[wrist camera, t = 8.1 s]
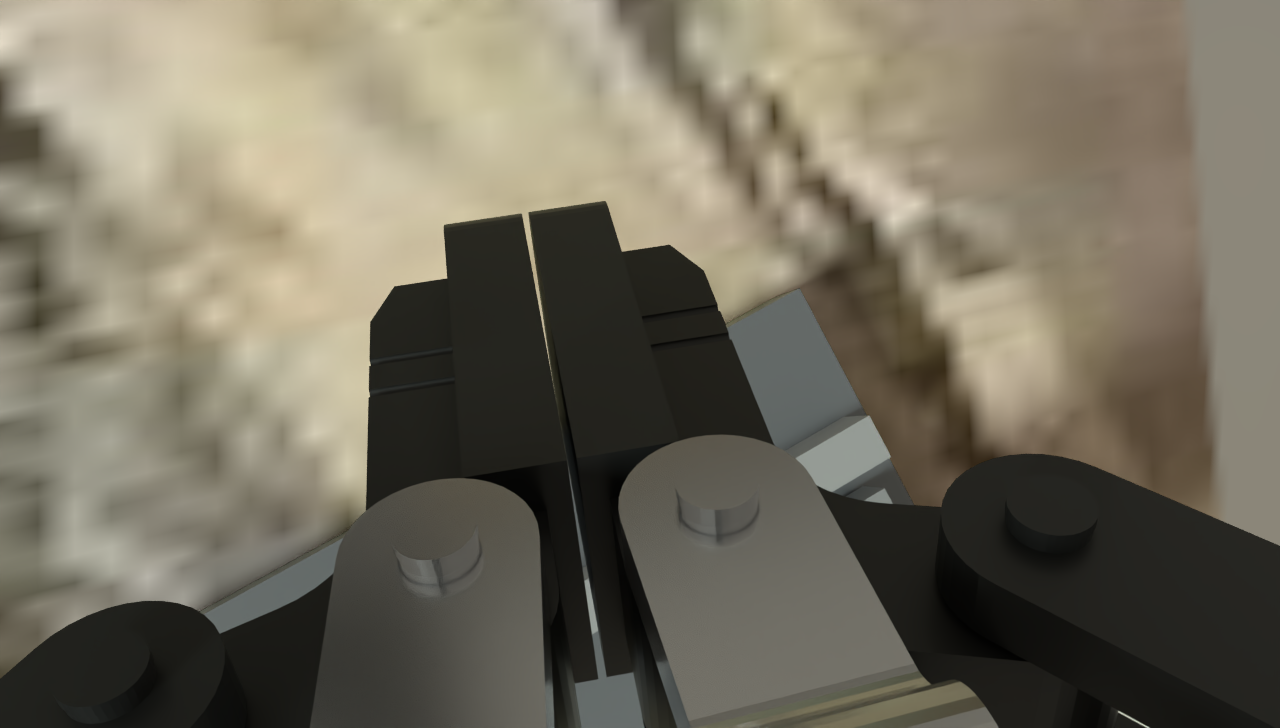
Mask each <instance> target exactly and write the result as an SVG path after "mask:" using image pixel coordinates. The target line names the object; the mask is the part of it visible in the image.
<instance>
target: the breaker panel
mask: <svg viewBox="0 0 1280 728" xmlns="http://www.w3.org/2000/svg"><path fill="white" fill-rule="evenodd" d="M726 327H727V329H728V332H729V338H730V340H731V339H732V342H733V344H734V347H735V349H736V352H737V354H738V357H739V359H740V362H741V364H742V366H743V369H744V371H745V374H746V376H747V379H748V381H749V384H750V386H751V389H752V391H753V394H754V396H755V399H756V401H757V404H758V406H759V408H760V411H761V413H762V416H763V418H764V421H765V423H766V426H767V428H768V431H769V433H770V436H771V438H772V441H773V443H774V445H775V446H776V447H778V448H780V449H782V450H784V451H785V452H787V453H788V454H790V455H791V456H793V457H794V458H796V459H797V460H798V461H799V462H800V463H801V464H802V465H803V466H804V467H805V468H806V470H807V471H808V473H809V474H810V475H811V477H812V478H813V480H814V482H815V484H816V485H817V486H819V487H821V488H823V489H826V490H828V491H830V492H833V493H836V494H839V495H842V496H845V497H846V496H847V495H849V494H851V493H852V492H854V491H856V490H857V489H859V488H861V487H862V486H866V487H877V488H885V490H886V492H887V494H888V496H889V497H890V499H891V501H892V503H893V504H903V505H914V504H913V502H912V500H911V498H910V496H909V494H908V492H907V491H906V489H905V487H904V485H903V483H902V481H901V479H900V477H899V475H898V474H897V472H896V470H895V468H894V466H893V464H892V462H891V460H890V457H891V455H890V453H889V452H888V450H887V448H886V446H885V444H884V442H883V440H882V438H881V436H880V435H879V433H878V431H877V429H876V427H875V425H874V423H873V421H872V419H871V418H870V416H869V415H866V413H865V411H864V409H863V407H862V405H861V403H860V402H859V400H858V398H857V396H856V394H855V392H854V390H853V388H852V386H851V385H850V383H849V381H848V379H847V377H846V375H845V373H844V371H843V369H842V368H841V366H840V364H839V362H838V360H837V358H836V356H835V354H834V352H833V350H832V349H831V347H830V345H829V343H828V341H827V339H826V337H825V335H824V333H823V332H822V330H821V328H820V326H819V324H818V322H817V320H816V318H815V316H814V314H813V313H812V311H811V309H810V307H809V305H808V303H807V301H806V299H805V297H804V296H803V294H802V292H801V290H800V288H799V289H796V290H793V291H791V292H788V293H786V294H783V295H780V296H778V297H775V298H773V299H771V300H769V301H767V302H765V303H763V304H762V305H760V306H758V307H756V308H754V309H752V310H751V311H749V312H747V313H745V314H743V315H741V316H740V317H738V318H736V319H734V320H732V321H731V322H729V323H727V324H726ZM567 464H568V463H567ZM568 471H569V469H568ZM569 477H570V474H569ZM570 484H571V480H570ZM571 491H572V485H571ZM572 498H573V505H574V512H575V519H576V526H577V533H578V540H579V547H580V554H581V561H582V568H583V575H584V582H585V589H586V596H587V602H588V609H589V616H590V623H591V630H592V637H593V644H594V651H595V658H596V665H597V672H598V679H597V680H592V681H586V682H581V683H575V688H576V695H577V701H578V708H579V714H580V720H581V727H582V728H643V722H642V713H641V708H640V703H639V698H638V693H637V689H636V684H635V679H634V674H633V672H632V673H627V674H622V675H616V676H611V677H607V676H606V670H605V665H604V660H603V654H602V649H601V643H600V638H599V632H598V627H597V621H596V616H595V610H594V605H593V600H592V594H591V589H590V583H589V578H588V572H587V567H586V561H585V556H584V551H583V545H582V540H581V534H580V529H579V523H578V518H577V512H576V507H575V502H574V496H573V491H572ZM346 533H347V531H346V532H344V533H343V534H341V535H339V536H337V537H335V538H333V539H332V540H330V541H328V542H326V543H324V544H323V545H321V546H319V547H317V548H315V549H313V550H312V551H310V552H308V553H306V554H304V555H302V556H301V557H299V558H297V559H295V560H293V561H291V562H290V563H288V564H286V565H284V566H282V567H280V568H279V569H277V570H275V571H273V572H271V573H269V574H268V575H266V576H264V577H262V578H260V579H258V580H257V581H255V582H253V583H251V584H249V585H247V586H246V587H244V588H242V589H240V590H238V591H237V592H235V593H233V594H231V595H229V596H227V597H226V598H224V599H222V600H220V601H218V602H216V603H215V604H213V605H211V606H209V607H207V608H205V609H204V610H202V611H200V613H202V614H203V615H205V616H206V617H207V618H208V619H209V620H210V621H211V622H212V623H213V624H214V625H215V627H216V628H217V630H218V632H219V633H222V632H225V631H227V630H229V629H232V628H234V627H236V626H239V625H241V624H243V623H246V622H248V621H250V620H253V619H255V618H257V617H260V616H262V615H264V614H267V613H269V612H271V611H274V610H276V609H278V608H280V607H282V606H285V605H287V604H289V603H291V602H293V601H295V600H297V599H299V598H300V597H302V596H303V595H305V594H307V593H308V592H310V591H311V590H313V589H315V588H316V587H317V586H318V585H320V584H321V583H322V582H323V581H325V580H326V579H327V578H329V577H330V576H331V575H332V574H333V573H334V568H335V561H336V557H337V553H338V549H339V546H340V544H341V542H342V540H343V538H344V536H345V534H346Z"/></svg>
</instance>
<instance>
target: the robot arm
mask: <svg viewBox="0 0 1280 728" xmlns="http://www.w3.org/2000/svg"><path fill="white" fill-rule="evenodd" d="M529 222H530V229H531V237H532V243H533V250H534V257H535V264H536V271H537V278H538V285H539V291H540V298H541V305H542V312H543V319H544V326H545V333H546V339H547V346H548V353H549V359H548V354H547V348H546V343H545V338H544V332H543V327H542V321H541V316H540V310H539V305H538V299H537V294H536V289H535V283H534V278H533V272H532V267H531V261H530V256H529V250H528V245H527V240H526V234H525V229H524V223H523V218H522V214H515V215H508V216H501V217H494V218H487V219H481V220H474V221H467V222H460V223H453V224H446V225H444V239H445V252H446V266H447V279H441V280H434V281H428V282H421V283H415V284H408V285H401V286H395V287H394V288H393V289H392V291H391V292H390V294H389V295H388V297H387V298H386V300H385V301H384V303H383V304H382V306H381V307H380V309H379V310H378V312H377V313H376V315H375V316H374V318H373V319H372V321H371V322H370V364H371V366H369V392H370V397H369V407H368V450H367V493H366V511H365V512H364V513H363V514H362V515H361V516H360V517H359V518H358V519H357V520H356V521H355V522H354V523H353V525H352V526H351V527H350V529H349V530H348V531H347V533H346V534H345V536H344V538H343V540H342V542H341V544H340V546H339V549H338V553H337V557H336V561H335V568H334V573H333V574H332V575H331V576H330V577H329V578H327V579H326V580H325V581H323V582H322V583H321V584H320V585H318V586H317V587H316V588H315V589H313V590H311V591H310V592H308V593H307V594H305V595H303V596H302V597H300V598H299V599H297V600H295V601H293V602H291V603H289V604H287V605H285V606H282V607H280V608H278V609H276V610H274V611H271V612H269V613H267V614H264V615H262V616H260V617H257V618H255V619H253V620H250V621H248V622H246V623H243V624H241V625H239V626H236V627H234V628H232V629H229V630H227V631H225V632H222V633H219V632H218V630H217V628H216V627H215V625H214V624H213V623H212V622H211V621H210V620H209V619H208V618H207V617H206V616H205V615H203V614H202V613H200V612H198V611H197V610H195V609H193V608H191V607H188V606H185V605H181V604H178V603H172V602H165V601H141V602H134V603H127V604H122V605H118V606H114V607H111V608H107V609H104V610H101V611H99V612H96V613H93V614H91V615H88V616H86V617H84V618H82V619H80V620H78V621H76V622H74V623H72V624H70V625H68V626H66V627H65V628H63V629H62V630H60V631H58V632H57V633H55V634H54V635H52V636H51V637H49V638H48V639H47V640H46V641H44V642H43V643H42V644H40V645H39V646H38V647H37V648H35V649H34V650H33V651H32V652H31V653H30V654H28V655H27V656H26V657H25V658H24V659H23V660H21V661H20V662H19V663H18V664H17V665H16V666H15V667H13V668H12V669H11V670H10V671H9V672H8V673H7V674H5V675H4V676H3V677H2V678H1V679H0V728H582V727H581V720H580V714H579V708H578V701H577V695H576V688H575V683H581V682H586V681H592V680H597V679H598V672H597V665H596V658H595V651H594V644H593V637H592V630H591V623H590V616H589V609H588V602H587V596H586V589H585V582H584V575H583V568H582V561H581V554H580V547H579V540H578V533H577V526H576V519H575V512H574V505H573V498H572V491H573V496H574V502H575V507H576V512H577V518H578V523H579V529H580V534H581V540H582V545H583V551H584V556H585V561H586V567H587V572H588V578H589V583H590V589H591V594H592V600H593V605H594V610H595V616H596V621H597V627H598V632H599V638H600V643H601V649H602V654H603V660H604V665H605V670H606V676H607V677H611V676H616V675H622V674H627V673H632V672H633V674H634V679H635V684H636V689H637V693H638V698H639V703H640V708H641V713H642V722H643V728H1146V727H1144V726H1142V725H1140V724H1139V723H1137V722H1135V721H1133V720H1131V719H1129V718H1128V717H1126V716H1124V715H1122V714H1120V713H1118V711H1120V712H1122V713H1124V714H1126V715H1127V716H1129V717H1131V718H1133V719H1135V720H1137V721H1138V722H1140V723H1142V724H1144V725H1146V726H1148V727H1149V728H1280V546H1279V545H1276V544H1274V543H1272V542H1269V541H1267V540H1265V539H1262V538H1260V537H1258V536H1255V535H1253V534H1251V533H1248V532H1246V531H1244V530H1241V529H1239V528H1237V527H1234V526H1232V525H1230V524H1227V523H1225V522H1223V521H1220V520H1218V519H1216V518H1213V517H1211V516H1209V515H1206V514H1204V513H1202V512H1199V511H1197V510H1195V509H1192V508H1190V507H1188V506H1185V505H1183V504H1181V503H1178V502H1176V501H1174V500H1171V499H1169V498H1167V497H1164V496H1162V495H1160V494H1157V493H1155V492H1153V491H1150V490H1148V489H1146V488H1143V487H1141V486H1139V485H1136V484H1134V483H1132V482H1129V481H1127V480H1125V479H1122V478H1120V477H1118V476H1115V475H1113V474H1111V473H1108V472H1106V471H1104V470H1101V469H1099V468H1097V467H1094V466H1091V465H1088V464H1086V463H1083V462H1080V461H1076V460H1072V459H1068V458H1064V457H1059V456H1052V455H1044V454H1019V455H1008V456H1004V457H999V458H994V459H991V460H988V461H985V462H983V463H980V464H978V465H976V466H974V467H972V468H970V469H969V470H967V471H965V472H964V473H963V474H962V475H960V476H959V477H958V478H957V479H956V480H955V481H954V482H953V483H952V485H951V486H950V487H949V489H948V490H947V492H946V495H945V497H944V499H943V502H942V507H931V506H917V505H903V504H889V503H878V502H870V501H862V500H858V499H853V498H849V497H845V496H842V495H839V494H836V493H833V492H830V491H828V490H826V489H823V488H821V487H819V486H817V485H816V484H815V482H814V480H813V478H812V477H811V475H810V474H809V473H808V471H807V470H806V468H805V467H804V466H803V465H802V464H801V463H800V462H799V461H798V460H797V459H796V458H794V457H793V456H791V455H790V454H788V453H787V452H785V451H784V450H782V449H780V448H778V447H776V446H775V445H774V443H773V441H772V438H771V436H770V433H769V431H768V428H767V426H766V423H765V421H764V418H763V416H762V413H761V411H760V408H759V406H758V404H757V401H756V399H755V396H754V394H753V391H752V389H751V386H750V384H749V381H748V379H747V376H746V374H745V371H744V369H743V366H742V364H741V362H740V359H739V357H738V354H737V352H736V349H735V347H734V344H733V342H732V339H731V340H730V338H729V332H728V329H727V327H726V324H725V322H724V320H723V317H722V315H721V312H720V311H718V306H717V302H716V300H715V297H714V295H713V292H712V290H711V287H710V285H709V282H708V280H707V278H706V275H705V273H704V271H703V270H702V269H701V268H700V267H698V266H697V265H696V264H694V263H693V262H692V261H690V260H689V259H688V258H686V257H685V256H684V255H682V254H681V253H680V252H679V251H677V250H676V249H675V248H673V247H672V246H671V245H665V246H658V247H652V248H645V249H638V250H632V251H625V252H622V251H621V248H620V245H619V241H618V238H617V235H616V232H615V228H614V225H613V222H612V219H611V215H610V212H609V209H608V206H607V203H606V201H602V202H595V203H588V204H581V205H574V206H568V207H561V208H554V209H547V210H540V211H533V212H529ZM549 360H550V365H549ZM550 366H551V370H550ZM551 372H552V376H551ZM552 379H553V381H552ZM553 385H554V387H553ZM554 391H555V392H554ZM555 397H556V398H555ZM567 463H568V464H567ZM568 469H569V471H568ZM569 474H570V477H569ZM570 480H571V484H570ZM571 485H572V491H571Z"/></svg>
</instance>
